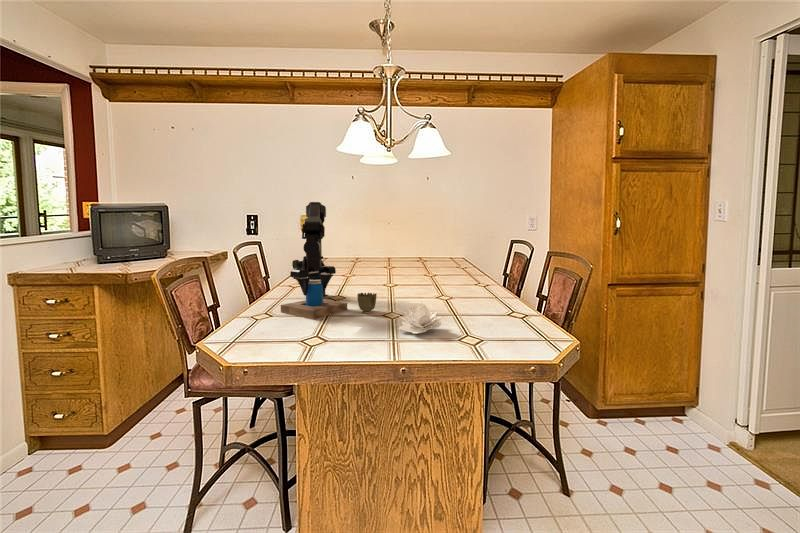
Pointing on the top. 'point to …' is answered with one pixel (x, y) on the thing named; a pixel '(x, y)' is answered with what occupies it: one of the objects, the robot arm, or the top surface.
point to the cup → (366, 302)
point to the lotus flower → (420, 320)
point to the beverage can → (314, 294)
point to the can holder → (313, 309)
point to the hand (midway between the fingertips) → (314, 293)
